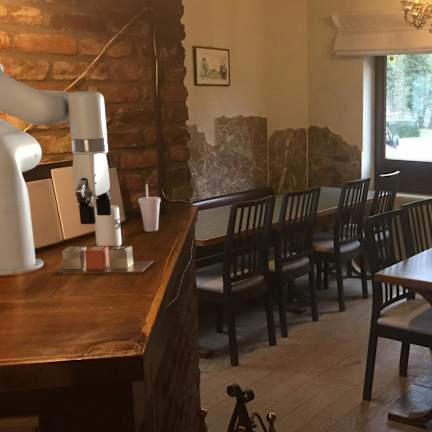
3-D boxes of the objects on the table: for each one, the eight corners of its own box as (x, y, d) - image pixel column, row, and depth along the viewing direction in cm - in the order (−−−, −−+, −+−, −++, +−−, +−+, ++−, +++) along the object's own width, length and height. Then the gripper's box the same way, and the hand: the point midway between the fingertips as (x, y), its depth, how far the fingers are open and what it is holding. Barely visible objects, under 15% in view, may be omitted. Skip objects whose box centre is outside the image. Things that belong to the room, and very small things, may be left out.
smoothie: (140, 228, 192) (137, 183, 189) (162, 227, 194) (160, 182, 191) (139, 233, 186) (136, 186, 183) (162, 231, 188) (159, 185, 185)
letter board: (55, 274, 145) (55, 272, 145) (72, 263, 153) (71, 261, 153) (142, 273, 146) (142, 271, 146) (153, 263, 155) (153, 260, 155)
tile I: (63, 269, 147) (61, 250, 146) (70, 264, 151) (69, 246, 150) (81, 268, 147) (79, 250, 146) (87, 264, 151) (86, 246, 150)
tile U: (110, 268, 148) (109, 250, 147) (116, 263, 152) (115, 245, 151) (127, 268, 148) (126, 250, 147) (133, 263, 152) (132, 245, 151)
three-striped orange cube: (86, 268, 147) (84, 250, 146) (92, 264, 151) (91, 246, 150) (103, 268, 148) (102, 250, 147) (109, 264, 152) (108, 245, 151)
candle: (113, 248, 168) (109, 193, 165) (91, 247, 169) (86, 192, 166) (126, 242, 174) (122, 189, 171) (105, 241, 175) (100, 188, 172)
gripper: (88, 143, 152) (94, 212, 155) (56, 150, 135) (64, 227, 138) (119, 143, 152) (125, 212, 156) (92, 150, 135) (99, 227, 139)
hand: (96, 219), depth 147 cm, fingers open, 9 cm apart
